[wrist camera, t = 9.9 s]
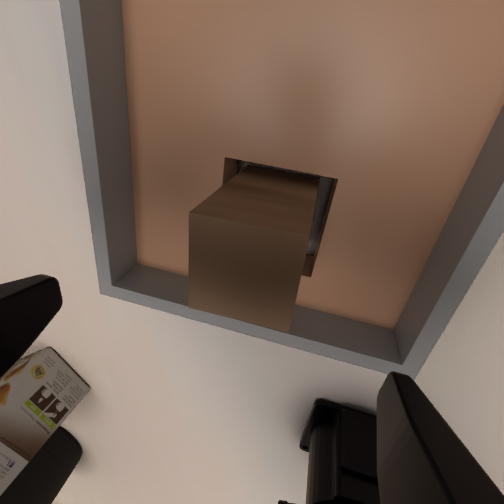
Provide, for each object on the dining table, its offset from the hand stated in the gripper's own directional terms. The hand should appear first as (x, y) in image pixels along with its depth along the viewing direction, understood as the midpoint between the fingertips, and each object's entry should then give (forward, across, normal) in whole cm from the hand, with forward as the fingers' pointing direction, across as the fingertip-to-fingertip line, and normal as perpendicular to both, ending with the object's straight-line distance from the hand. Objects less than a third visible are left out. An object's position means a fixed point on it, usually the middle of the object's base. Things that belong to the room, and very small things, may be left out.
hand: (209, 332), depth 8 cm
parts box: (+11, 0, -3) cm, 11 cm away
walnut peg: (+11, 0, 0) cm, 11 cm away
